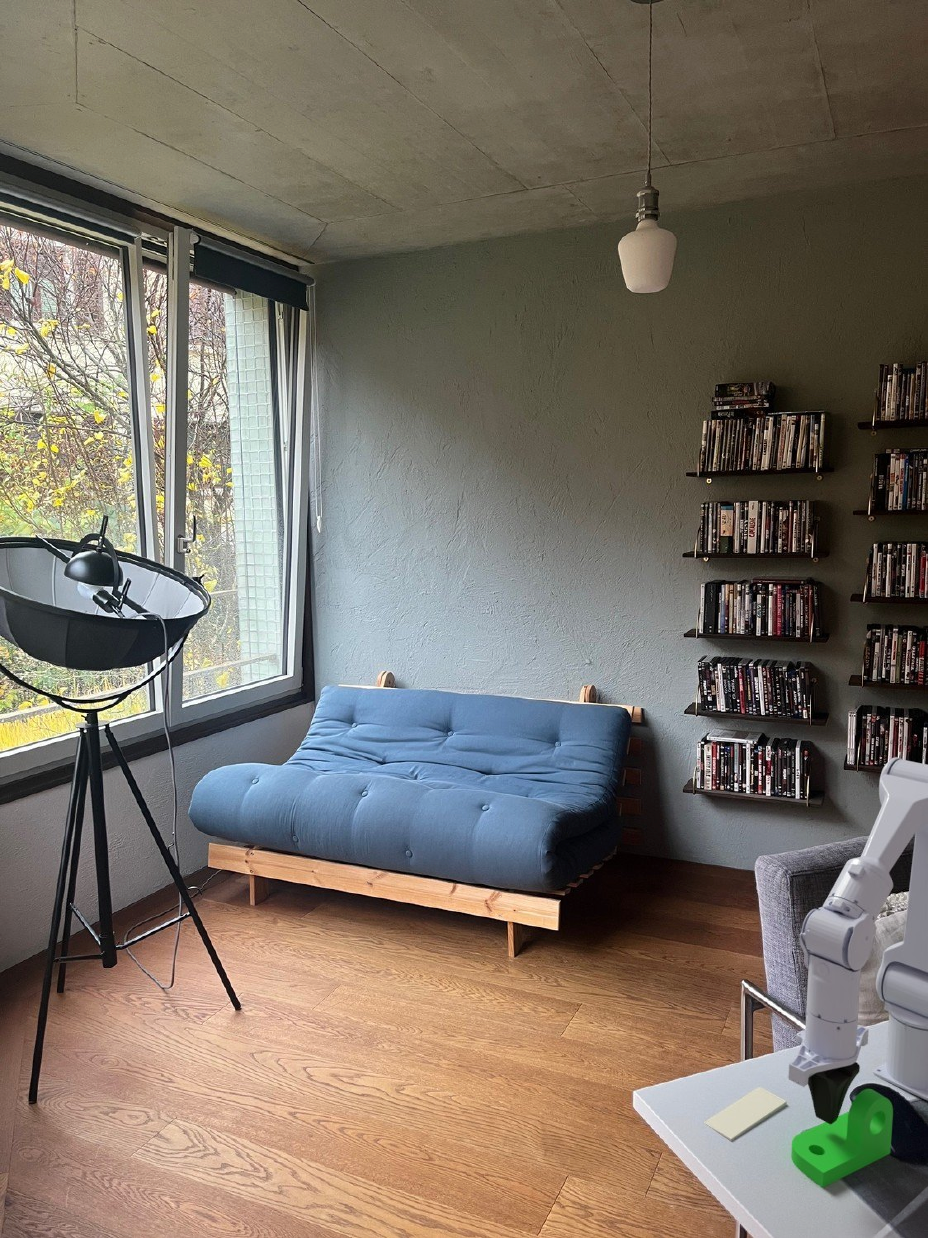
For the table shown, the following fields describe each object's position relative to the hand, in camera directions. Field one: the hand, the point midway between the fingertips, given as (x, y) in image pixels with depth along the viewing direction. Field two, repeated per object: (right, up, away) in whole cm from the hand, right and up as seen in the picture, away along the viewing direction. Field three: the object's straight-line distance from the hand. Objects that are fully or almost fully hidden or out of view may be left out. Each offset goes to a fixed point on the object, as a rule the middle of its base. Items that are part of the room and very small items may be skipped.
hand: (826, 1118), depth 113 cm
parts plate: (-8, -3, +5) cm, 10 cm away
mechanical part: (+1, -4, -1) cm, 4 cm away
